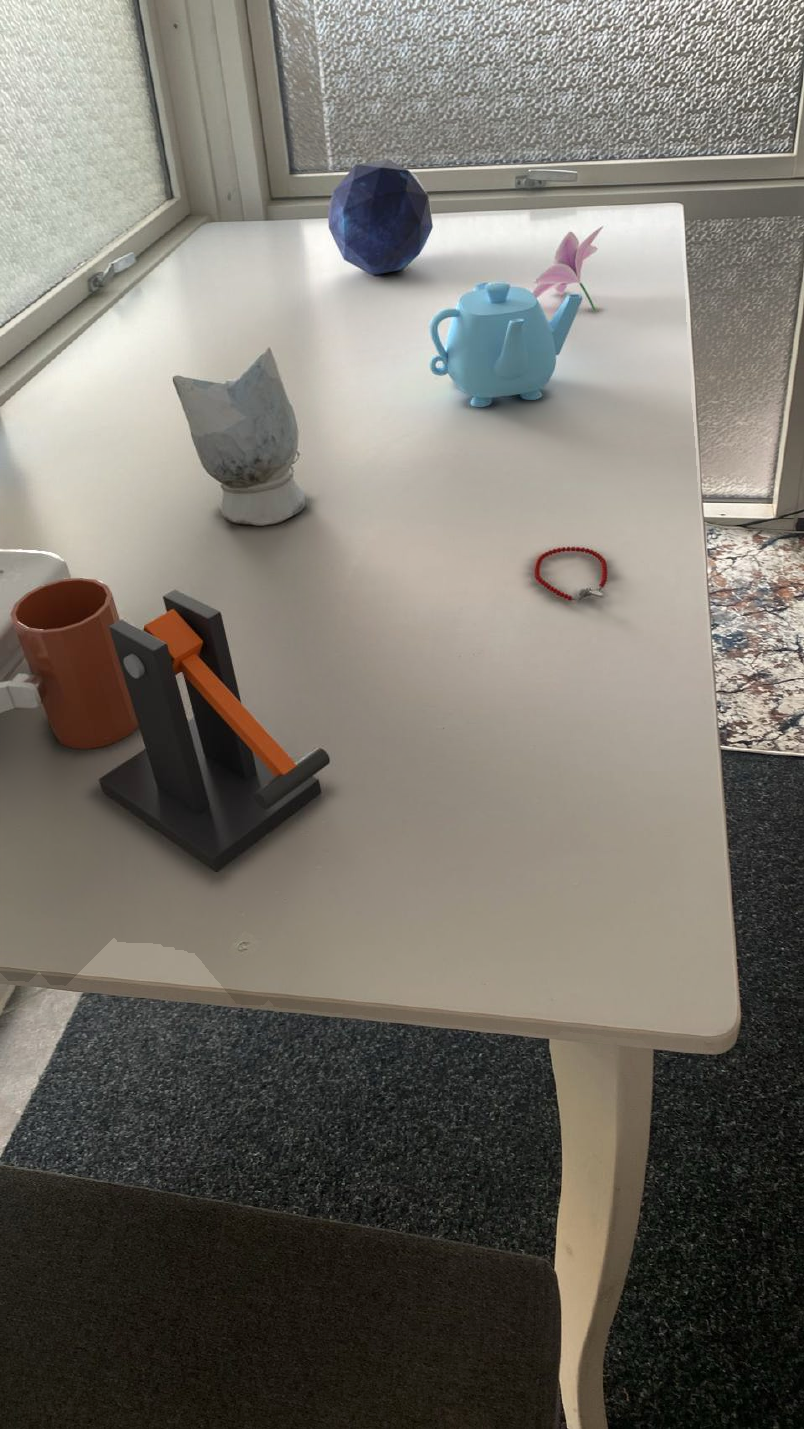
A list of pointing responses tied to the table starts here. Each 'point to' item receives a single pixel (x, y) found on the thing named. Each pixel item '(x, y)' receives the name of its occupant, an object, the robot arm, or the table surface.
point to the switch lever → (234, 711)
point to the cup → (76, 660)
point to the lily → (567, 265)
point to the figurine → (247, 441)
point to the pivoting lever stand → (192, 748)
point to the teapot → (501, 342)
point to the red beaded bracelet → (582, 592)
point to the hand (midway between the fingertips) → (72, 651)
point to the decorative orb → (380, 217)
